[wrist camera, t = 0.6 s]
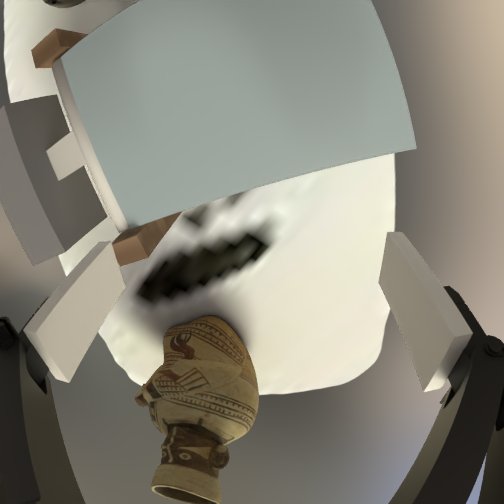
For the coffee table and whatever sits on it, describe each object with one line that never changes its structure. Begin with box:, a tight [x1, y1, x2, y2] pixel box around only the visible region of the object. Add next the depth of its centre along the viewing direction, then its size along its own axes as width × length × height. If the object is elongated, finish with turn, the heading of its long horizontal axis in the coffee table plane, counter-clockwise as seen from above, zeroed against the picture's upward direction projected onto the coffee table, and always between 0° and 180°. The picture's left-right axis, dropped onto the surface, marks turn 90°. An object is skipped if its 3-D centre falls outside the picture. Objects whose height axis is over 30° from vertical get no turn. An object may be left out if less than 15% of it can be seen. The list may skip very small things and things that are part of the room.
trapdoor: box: [0, 0, 417, 266], centre depth 18 cm, size 16×33×7 cm, turn 109°
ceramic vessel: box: [135, 316, 259, 504], centre depth 41 cm, size 19×21×30 cm
